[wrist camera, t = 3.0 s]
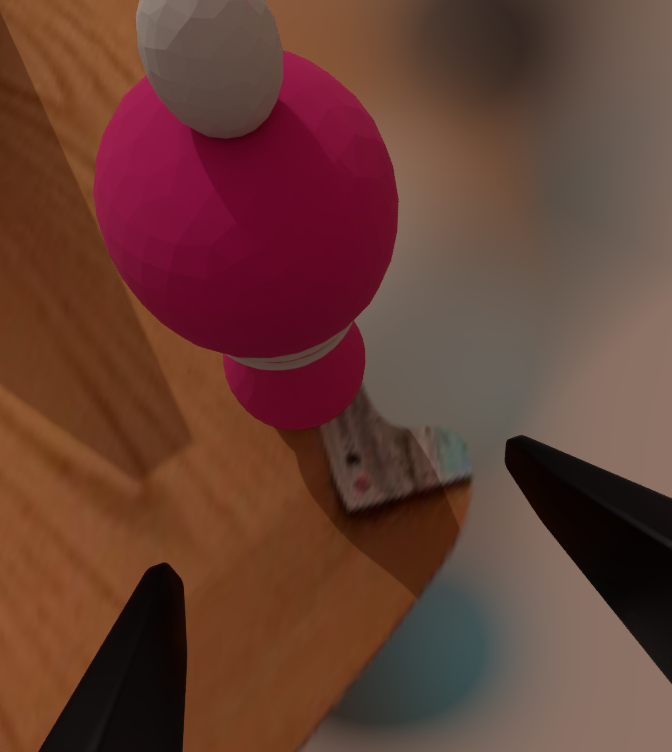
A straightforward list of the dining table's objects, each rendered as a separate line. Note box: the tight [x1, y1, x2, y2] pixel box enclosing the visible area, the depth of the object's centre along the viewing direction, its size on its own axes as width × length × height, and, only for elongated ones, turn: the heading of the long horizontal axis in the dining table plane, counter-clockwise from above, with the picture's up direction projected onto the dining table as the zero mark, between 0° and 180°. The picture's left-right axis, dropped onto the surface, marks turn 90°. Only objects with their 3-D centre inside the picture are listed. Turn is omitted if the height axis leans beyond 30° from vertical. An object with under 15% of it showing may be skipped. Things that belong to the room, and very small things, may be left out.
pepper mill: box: [94, 0, 398, 430], centre depth 14 cm, size 7×7×20 cm
